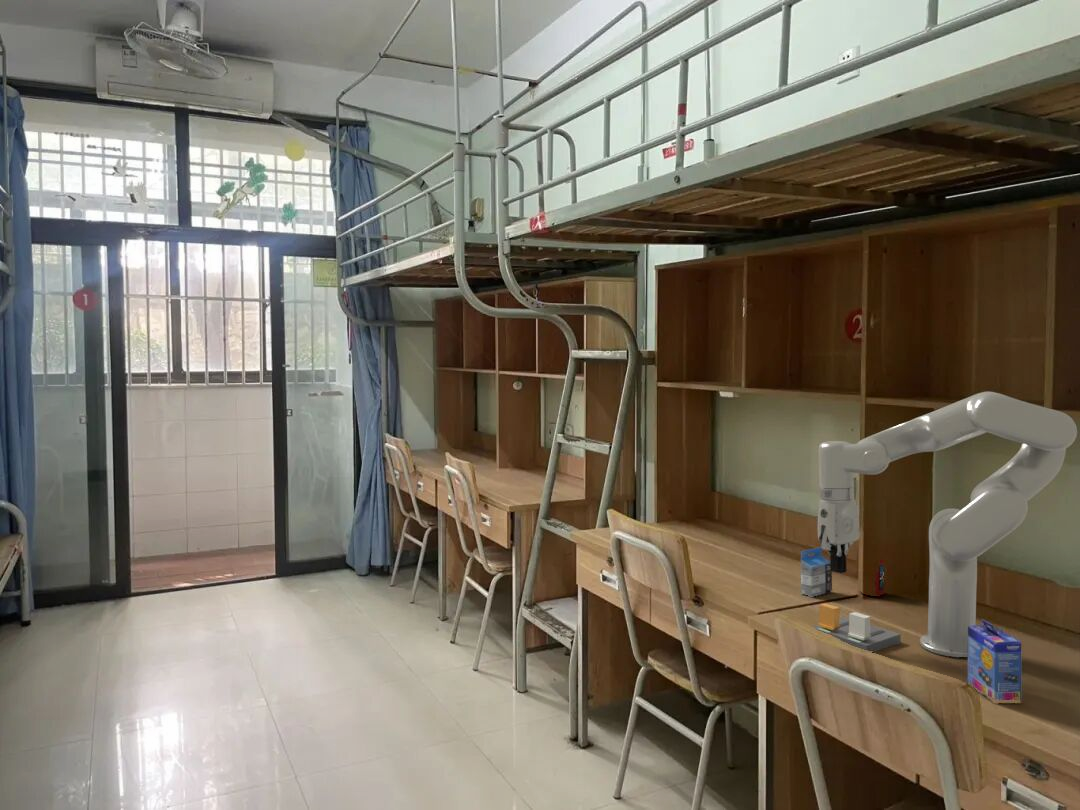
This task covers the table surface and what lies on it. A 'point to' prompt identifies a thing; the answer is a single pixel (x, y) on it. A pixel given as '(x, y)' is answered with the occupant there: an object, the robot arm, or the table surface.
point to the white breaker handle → (859, 626)
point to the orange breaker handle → (829, 616)
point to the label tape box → (815, 573)
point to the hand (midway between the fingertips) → (838, 571)
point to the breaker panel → (875, 643)
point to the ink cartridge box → (994, 662)
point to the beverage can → (880, 580)
